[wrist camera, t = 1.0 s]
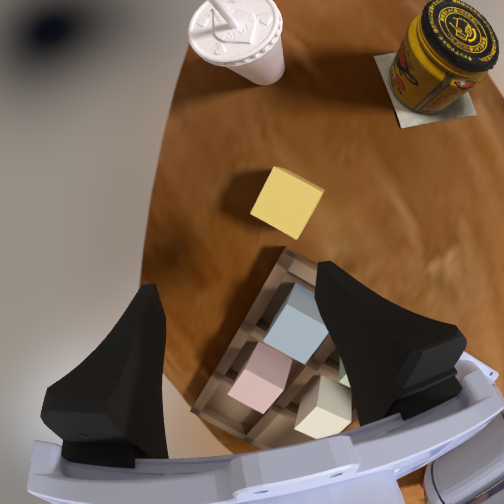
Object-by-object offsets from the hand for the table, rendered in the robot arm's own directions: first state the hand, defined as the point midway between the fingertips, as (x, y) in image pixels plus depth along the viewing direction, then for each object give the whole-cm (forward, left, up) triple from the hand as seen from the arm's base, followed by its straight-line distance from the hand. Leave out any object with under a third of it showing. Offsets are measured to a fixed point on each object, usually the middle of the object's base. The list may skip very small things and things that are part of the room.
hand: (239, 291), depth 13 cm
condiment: (-5, -19, -15) cm, 25 cm away
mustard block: (+1, -3, -15) cm, 15 cm away
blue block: (-5, +6, -14) cm, 16 cm away
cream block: (-12, +13, -14) cm, 23 cm away
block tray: (-8, +13, -15) cm, 22 cm away
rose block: (-5, +13, -14) cm, 20 cm away
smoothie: (+9, -13, -15) cm, 22 cm away
